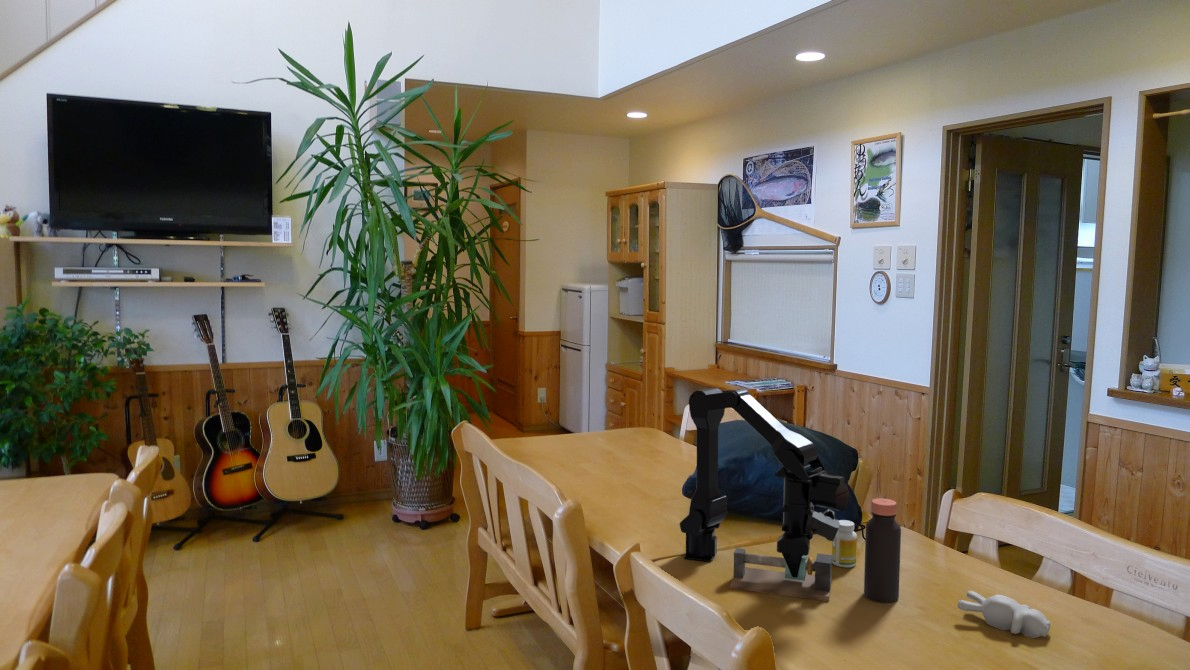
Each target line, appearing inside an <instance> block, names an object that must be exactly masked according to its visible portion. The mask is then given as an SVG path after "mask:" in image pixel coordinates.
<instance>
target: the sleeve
mask: <svg viewBox="0 0 1190 670" xmlns="http://www.w3.org/2000/svg"><path fill="white" fill-rule="evenodd" d="M805 561H808V555H806V556H802V559H801V564H800V568H799V572H798V577H792V575H791V573H790V571H789V568H788V566H787V564H786V561H785V568H784V572H785V578H786V579H794V580H802V581H805V577H806V575H807V574H808V573H807V570H805Z"/></svg>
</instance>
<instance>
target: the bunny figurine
mask: <svg viewBox="0 0 1190 670" xmlns="http://www.w3.org/2000/svg"><path fill="white" fill-rule="evenodd" d="M966 597H967V598H968V599H970V600H972V601H968V600H965V599H964V600H963V599H960V600H958V603H957V609H959V610H961V611H965V612H972V613H973V612H975V613H981V614H982V616H983V618H984V621H985V622H986V624H987V625H989V626H990V627H993V628H995V629H999V630H1002V631H1010V633H1011V634H1014V635H1016V634H1020V633H1021V634H1022V635H1023V636H1024V637H1025V636H1026V637H1028V638H1030V639H1031V638H1032V639H1036V638H1039V637H1041V636H1042V637H1044V638H1045V637H1047V635H1048V633H1049V631H1050V629H1051V626H1052V621H1050V620H1048V618H1046V616H1045V615H1044V614H1043V613H1042V612H1041V611H1040V610H1038V609H1035V608H1031V607H1030V606H1028V605H1027V604H1020V603H1018V601H1016V600H1015V599H1013V598H1011V597H1009V596H1005V595H1002V594H998V593H997V594H995V595H992V596H989V597H986V598H985V597H983V596H982V595H981V594H979V593H977V592H976V591H973V590H968V591H966ZM974 601H975V602H974Z"/></svg>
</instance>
